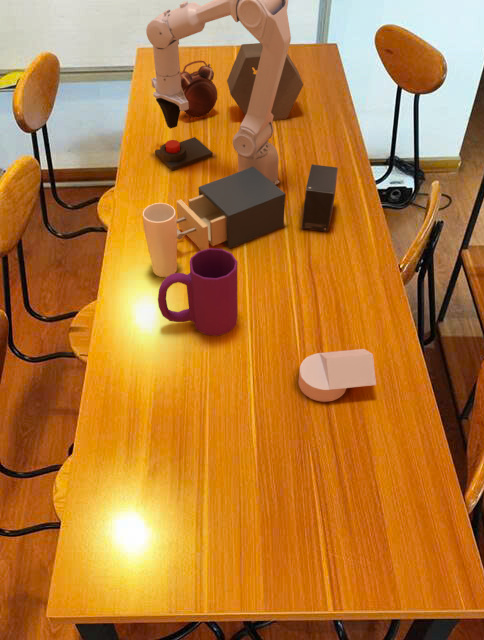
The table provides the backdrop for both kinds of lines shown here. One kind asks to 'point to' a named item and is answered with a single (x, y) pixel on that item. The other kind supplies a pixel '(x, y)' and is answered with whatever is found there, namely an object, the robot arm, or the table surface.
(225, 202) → the drawer cabinet
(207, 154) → the control block
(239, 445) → the table surface
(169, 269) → the drinking glass
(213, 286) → the mug
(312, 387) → the wedge on round base
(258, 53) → the dark hexagonal block
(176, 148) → the button
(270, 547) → the table surface
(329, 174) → the small box
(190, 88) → the alarm clock
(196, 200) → the drawer
